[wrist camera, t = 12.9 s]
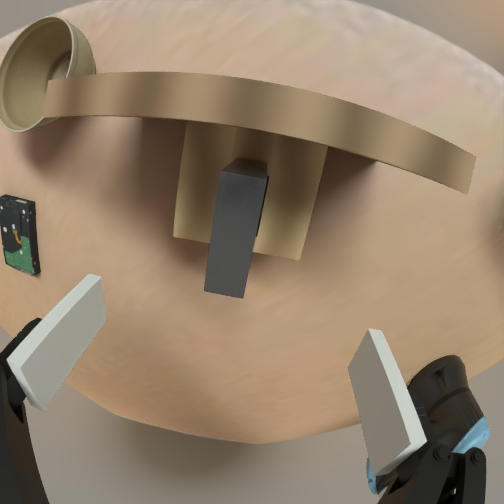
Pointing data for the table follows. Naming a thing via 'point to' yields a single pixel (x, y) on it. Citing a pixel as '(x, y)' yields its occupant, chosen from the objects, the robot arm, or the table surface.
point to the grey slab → (235, 226)
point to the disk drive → (19, 234)
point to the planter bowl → (40, 70)
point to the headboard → (258, 142)
